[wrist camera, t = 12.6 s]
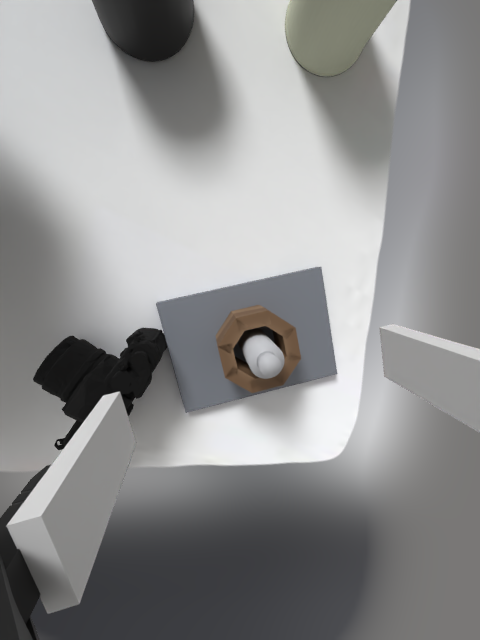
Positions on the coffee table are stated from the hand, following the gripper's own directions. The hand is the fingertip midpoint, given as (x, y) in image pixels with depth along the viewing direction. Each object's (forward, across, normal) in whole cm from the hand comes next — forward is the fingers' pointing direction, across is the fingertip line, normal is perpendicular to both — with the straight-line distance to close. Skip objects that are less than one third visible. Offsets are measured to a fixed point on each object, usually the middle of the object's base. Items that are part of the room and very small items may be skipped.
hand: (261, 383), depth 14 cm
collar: (+20, +3, -4) cm, 20 cm away
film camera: (+22, -15, -3) cm, 27 cm away
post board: (+21, +3, -4) cm, 22 cm away
